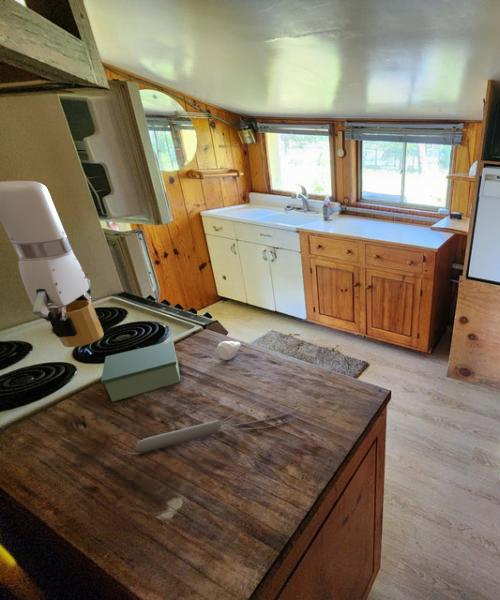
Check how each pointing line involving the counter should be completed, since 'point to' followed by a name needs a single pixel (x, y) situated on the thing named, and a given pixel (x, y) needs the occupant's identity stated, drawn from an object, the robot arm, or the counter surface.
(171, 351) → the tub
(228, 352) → the garlic bulb
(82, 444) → the counter surface
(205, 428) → the kitchen whisk
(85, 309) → the cup
